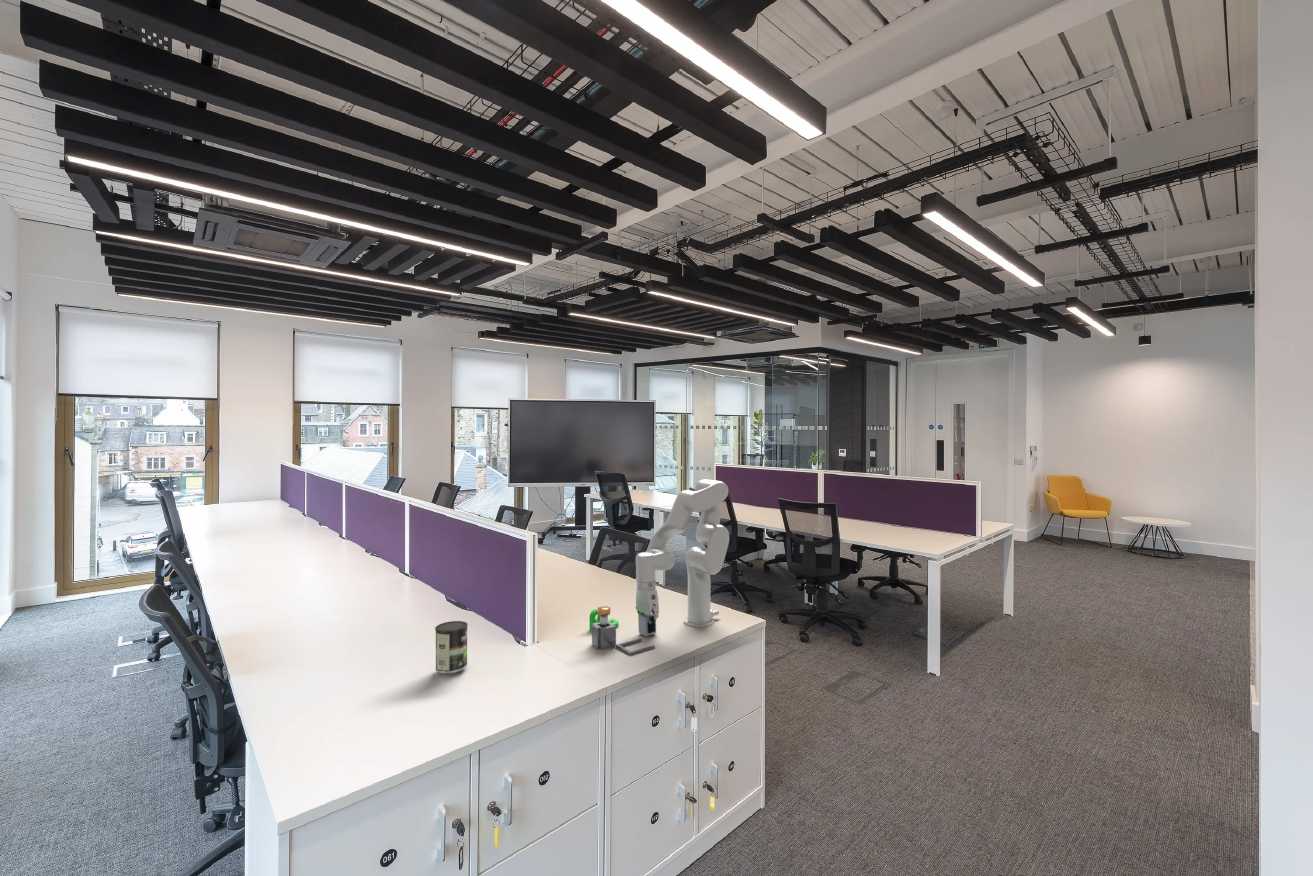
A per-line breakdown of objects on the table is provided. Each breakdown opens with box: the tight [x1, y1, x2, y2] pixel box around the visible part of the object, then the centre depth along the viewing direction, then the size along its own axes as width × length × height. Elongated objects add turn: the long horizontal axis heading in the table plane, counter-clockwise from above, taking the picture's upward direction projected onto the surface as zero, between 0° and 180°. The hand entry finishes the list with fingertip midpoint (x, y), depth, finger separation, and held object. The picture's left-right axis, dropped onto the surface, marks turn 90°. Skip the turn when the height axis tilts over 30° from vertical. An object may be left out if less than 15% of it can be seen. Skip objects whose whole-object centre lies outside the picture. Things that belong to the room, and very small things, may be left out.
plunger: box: [597, 606, 611, 627], centre depth 202 cm, size 5×5×8 cm
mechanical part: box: [589, 608, 620, 632], centre depth 221 cm, size 12×6×8 cm, turn 134°
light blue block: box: [637, 614, 657, 637], centre depth 212 cm, size 5×5×8 cm
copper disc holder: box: [591, 622, 617, 651], centre depth 202 cm, size 8×8×8 cm
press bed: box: [611, 638, 656, 657], centre depth 199 cm, size 13×12×2 cm
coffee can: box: [434, 620, 469, 674], centre depth 183 cm, size 10×10×14 cm
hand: (647, 629), depth 213 cm, fingers closed on light blue block, 5 cm apart
